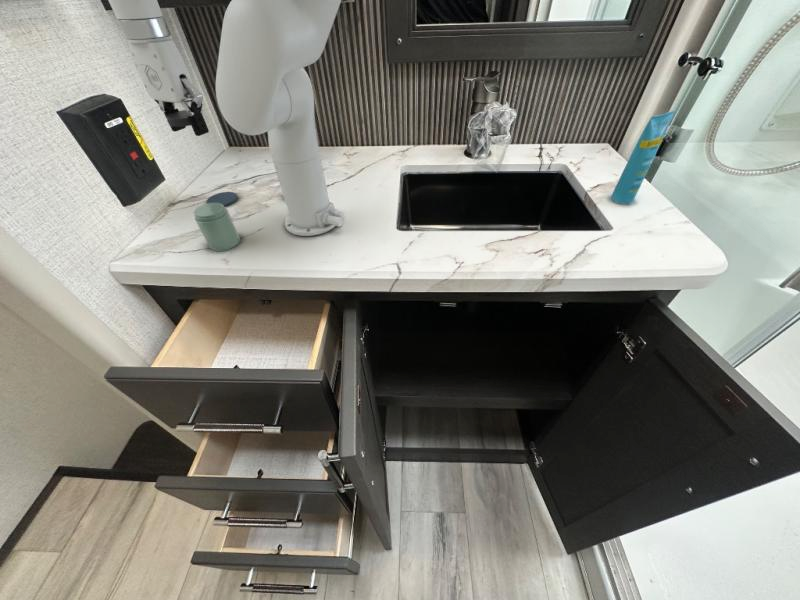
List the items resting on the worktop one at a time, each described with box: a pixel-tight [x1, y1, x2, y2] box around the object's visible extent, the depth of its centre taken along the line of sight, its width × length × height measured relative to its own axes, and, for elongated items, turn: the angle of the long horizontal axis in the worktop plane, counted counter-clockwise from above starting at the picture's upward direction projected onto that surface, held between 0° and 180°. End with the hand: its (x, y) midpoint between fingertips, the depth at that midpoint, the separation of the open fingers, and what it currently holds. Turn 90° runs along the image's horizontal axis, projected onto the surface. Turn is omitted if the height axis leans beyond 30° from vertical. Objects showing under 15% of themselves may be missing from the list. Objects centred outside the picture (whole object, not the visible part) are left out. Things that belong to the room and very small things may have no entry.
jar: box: [193, 203, 241, 252], centre depth 70 cm, size 6×6×8 cm
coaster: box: [206, 191, 239, 208], centre depth 87 cm, size 8×8×1 cm
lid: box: [165, 109, 191, 127], centre depth 73 cm, size 7×7×2 cm
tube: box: [610, 109, 676, 205], centre depth 74 cm, size 7×5×19 cm, turn 123°
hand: (190, 131), depth 75 cm, fingers closed on lid, 6 cm apart
